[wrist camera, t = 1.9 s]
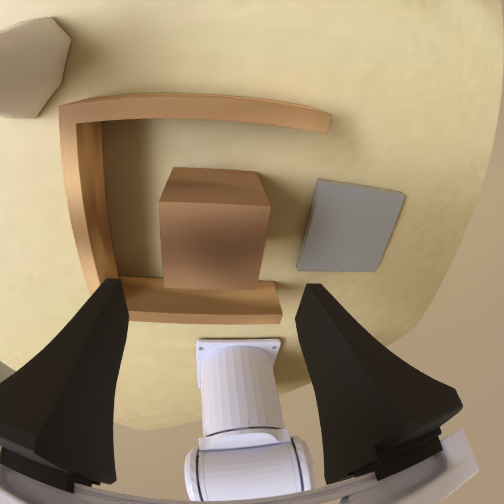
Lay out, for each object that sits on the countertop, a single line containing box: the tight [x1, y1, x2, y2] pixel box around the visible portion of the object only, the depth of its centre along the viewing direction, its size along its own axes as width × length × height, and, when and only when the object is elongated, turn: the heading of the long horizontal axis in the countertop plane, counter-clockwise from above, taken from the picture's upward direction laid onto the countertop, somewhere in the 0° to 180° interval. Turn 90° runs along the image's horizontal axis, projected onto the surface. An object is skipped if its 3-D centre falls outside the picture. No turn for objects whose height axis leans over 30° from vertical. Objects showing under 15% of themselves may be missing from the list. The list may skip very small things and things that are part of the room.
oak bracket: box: [59, 93, 332, 324], centre depth 16 cm, size 14×13×4 cm
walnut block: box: [159, 167, 271, 290], centre depth 16 cm, size 5×5×5 cm
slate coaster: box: [296, 179, 405, 272], centre depth 20 cm, size 7×7×1 cm
